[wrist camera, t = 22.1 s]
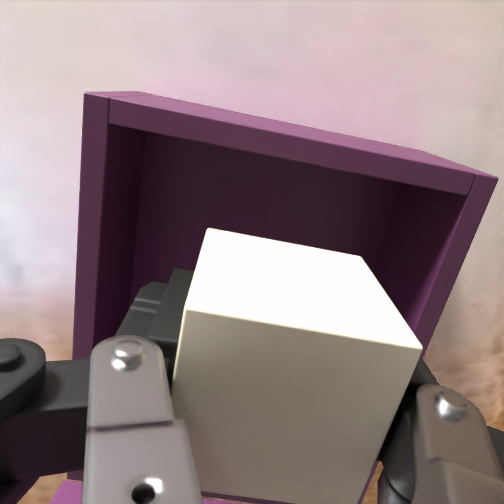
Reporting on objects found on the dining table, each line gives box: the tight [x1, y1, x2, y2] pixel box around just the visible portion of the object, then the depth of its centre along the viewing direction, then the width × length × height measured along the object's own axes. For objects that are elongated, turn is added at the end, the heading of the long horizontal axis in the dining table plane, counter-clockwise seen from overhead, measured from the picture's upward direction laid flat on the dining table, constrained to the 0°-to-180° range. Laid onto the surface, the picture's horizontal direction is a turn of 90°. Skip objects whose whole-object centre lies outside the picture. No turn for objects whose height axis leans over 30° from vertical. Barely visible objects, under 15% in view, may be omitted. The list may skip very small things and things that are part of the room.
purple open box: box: [67, 91, 498, 504], centre depth 19 cm, size 17×14×6 cm
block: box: [170, 228, 423, 504], centre depth 10 cm, size 4×4×4 cm
